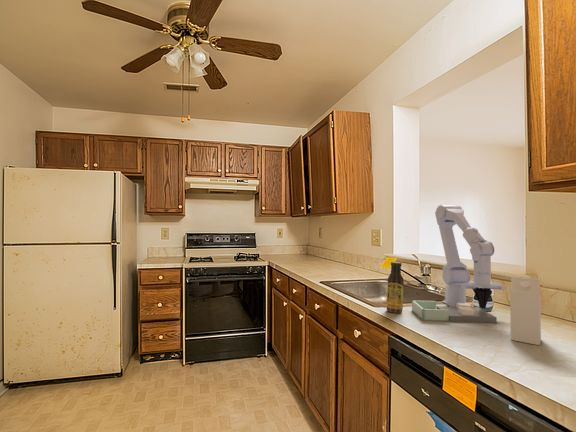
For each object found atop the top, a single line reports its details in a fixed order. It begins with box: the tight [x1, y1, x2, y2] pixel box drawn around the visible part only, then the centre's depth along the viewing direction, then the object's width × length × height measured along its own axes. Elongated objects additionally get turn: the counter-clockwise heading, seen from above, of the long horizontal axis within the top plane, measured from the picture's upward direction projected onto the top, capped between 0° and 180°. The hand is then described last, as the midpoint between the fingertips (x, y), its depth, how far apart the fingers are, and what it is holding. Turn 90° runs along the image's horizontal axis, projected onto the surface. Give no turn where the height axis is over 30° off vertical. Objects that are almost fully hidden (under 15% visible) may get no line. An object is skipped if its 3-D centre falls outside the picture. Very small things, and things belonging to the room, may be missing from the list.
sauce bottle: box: [386, 261, 404, 314], centre depth 132 cm, size 7×6×20 cm
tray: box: [411, 300, 450, 322], centre depth 127 cm, size 14×9×4 cm, turn 174°
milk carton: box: [509, 275, 542, 346], centre depth 101 cm, size 7×7×19 cm
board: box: [436, 305, 497, 324], centre depth 125 cm, size 14×16×2 cm
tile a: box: [457, 302, 473, 309], centre depth 128 cm, size 4×4×2 cm
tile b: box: [458, 307, 474, 315], centre depth 122 cm, size 4×4×2 cm
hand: (482, 307), depth 127 cm, fingers closed
